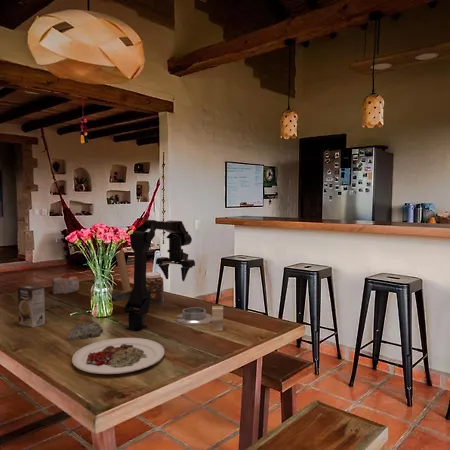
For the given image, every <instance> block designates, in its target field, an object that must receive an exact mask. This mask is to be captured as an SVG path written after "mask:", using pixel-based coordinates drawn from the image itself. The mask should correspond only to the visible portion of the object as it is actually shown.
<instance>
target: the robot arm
mask: <svg viewBox="0 0 450 450" xmlns="http://www.w3.org/2000/svg"><path fill="white" fill-rule="evenodd" d="M147 230H149V231H147ZM156 230H161V231H163V230H164V231H165V232H167V233H168V235H166V239H168V249H167V253H168V257H166V256H161V257H156V260H155V265H157V267H159V268H160V270H161V271H162V274H163V275H164V278H165V280H168V279H169V268H170V265H172V264H173V265H181V267H180V272H181V280H182V282H185V280H186V278H187V275H188V272H189V270H190V269H192V268H193V267H195V266H196V261H195V260H194V259H189V254H188V253H187V252H184V249H183V248H182V247H183V246H189V245H190V244H191V243H192V242H193V239H192V235H190V234H189V231H187V228H186V227H185V225H184V223H183V221H181V220H167V221H162V220H155V219H146V220H144V221H143V223H142V224H141V225H139V226H138V227H136V228H135V229H134V230H133V232H132V233H130V237H129V239H130V240H129V241H130V242H129V243H130V247H131V249H132V252H133V253H134V255H133V257H134V258H133V260H134V261H133V287H132V288H133V289H132V291H131V292H130V295H129V299H128V300H127V302H126V304H125V306H124V307H123V311H124V314H128V315H127V317H128V318H127V321H128V325H127V326H126V327H125V330H130V331H134V332H135V331H136V332H139V331H141V330H143V329H145V328H147V327H148V324H147V325H146V324H145V315H147V314H148V313H149V309H150V306H149V305H150V301H151V298H150V296H151V292H150V291H148V290H147V288H146V273H147V253H148V251H149V249H150V248H151V245H152V241H153V239H154V238H155V236H156Z"/></svg>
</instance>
